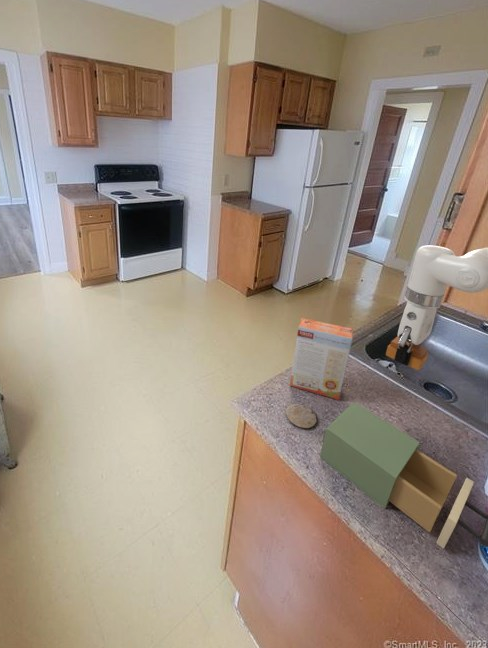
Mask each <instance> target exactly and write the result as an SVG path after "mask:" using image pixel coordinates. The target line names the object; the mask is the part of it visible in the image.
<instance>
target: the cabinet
mask: <svg viewBox="0 0 488 648" xmlns="http://www.w3.org/2000/svg"><path fill="white" fill-rule="evenodd" d="M420 444H421V441H419V440H417V439H415V438H414V437H412V436H411V435H410V434H407V433H406V432H404V431H402V430H401V429H399V428H398V427H397V426H395V425H393V424H391V423H390V422H388V421H386V420H385V419H383V418H382V417H380V416H378V415H377V414H375V413H374V412H372V411H370V410H369V409H367V408H365V407H363V405H361V404H359V403H357V402H355V401H353V402H352V403H351V404H350V405H348V406H347V408H346V409H345V410H344V411H343V412H341V413H340V414H339V415H338V416H337V417H336V418H335V419H334V420H333V421H332V422H331V423H330V424H329V425H328V426H327V427H326V429H325V432H324V438H323V441H322V446H321V450H320V454H319V458H320V459H322V460H323V461H324V462H326V463H327V464H328V466H330V467H332V469H334V470H335V471H337V472H338V473H339V474H340V475H341V476H343V477H344V478H345V479H346V480H347V481H349V482H350V483H352V485H353V486H355V487H357V489H359V490H360V491H361V492H362V493H364V494H365V495H366V496H368V497H369V498H370V499H371V500H373V501H374V502H375V503H376V504H378V505H379V506H380V507H381V508H383V509H384V510H386V509H387V507H388V505H389V504H390V503H391V502H390V501H389V499H390V496H391V493H392V490H393V488H394V485H395V482H396V479H397V478H398V476H399V475H400V473H401V472H402V470H403V469H404V467H405V466H406V464H407V463H408V461H409V460H410V458H411V457H412V455H413V454H414V452H415V450H416V449H417V450H419V447H420Z"/></svg>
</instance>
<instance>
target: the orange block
mask: <svg viewBox="0 0 488 648" xmlns="http://www.w3.org/2000/svg"><path fill="white" fill-rule="evenodd" d="M399 340H400V338H399V337H398V335H397V336H396V337H395V338H393V339H392V340H391V341H390V344H388V345H387V347H386V352H385V356H386V357H388V358H390V359H392V360H395V355H396V351H397V348H398V343H399ZM406 344H407V345H408V347H409V344H410V343H409V342H406ZM428 350H429V347H426V346H424V345H422V344H421V345H415V344H413V347H412V349H411V352H412V354H411V358H410V361H409V364H408V365H407V367H410V368H412V369H414V370H416V371H418V372H419V371H420V370H421V368H423V367H424V366H425V364H426V363H427V360H428V357H429V352H428Z"/></svg>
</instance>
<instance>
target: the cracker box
mask: <svg viewBox="0 0 488 648" xmlns="http://www.w3.org/2000/svg"><path fill="white" fill-rule="evenodd" d="M353 335H354V334H353V328H351V327H346V326H342V325H337V324H332V323H327V322H323V321H318V320H314V319H309V318H305V317H301V318H300V322H299V325H298V329H297V336H296V341H295V348H294V355H293V360H292V368H291V375H290V380H289V386H290V387H292V388H296V389H299V390H302V391H306V392H310V393H313V394H316V395H320V396H323V397H326V398H329V399H333V400H337V401H339V400H340V397H341V394H342V390H343V389H342V388H343V384H344V379H345V375H346V370H347V367H348V362H349V357H350V352H351V349H352V344H353V340H354V339H353V338H354V337H353Z"/></svg>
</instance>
